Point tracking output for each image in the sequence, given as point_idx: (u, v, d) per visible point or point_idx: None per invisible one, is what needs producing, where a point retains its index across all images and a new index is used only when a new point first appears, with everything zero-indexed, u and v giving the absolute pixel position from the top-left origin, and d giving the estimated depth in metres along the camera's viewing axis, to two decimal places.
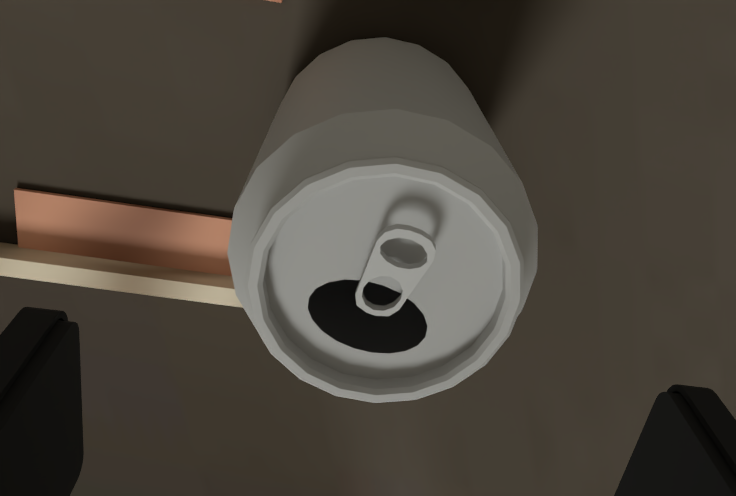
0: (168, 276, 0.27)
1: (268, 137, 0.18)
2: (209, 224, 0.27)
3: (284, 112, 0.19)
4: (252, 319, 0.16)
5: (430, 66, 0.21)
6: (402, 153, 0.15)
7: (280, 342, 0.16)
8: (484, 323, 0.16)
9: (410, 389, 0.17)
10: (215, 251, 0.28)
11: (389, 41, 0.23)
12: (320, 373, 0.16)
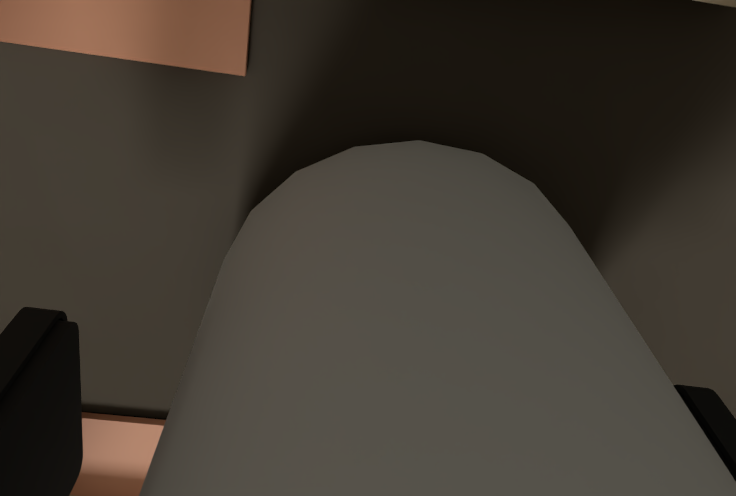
0: None
1: (158, 476, 0.07)
2: (133, 434, 0.16)
3: (205, 382, 0.08)
4: None
5: (528, 234, 0.10)
6: None
7: None
8: None
9: None
10: (146, 470, 0.17)
11: (429, 154, 0.12)
12: None
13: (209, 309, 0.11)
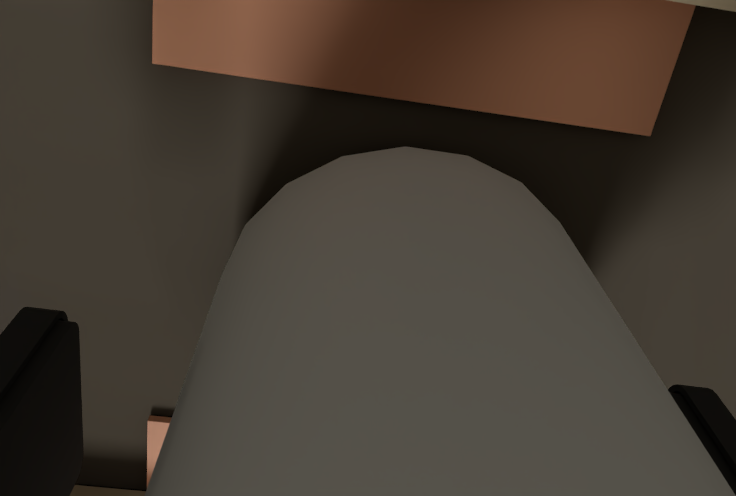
0: None
1: (155, 488, 0.08)
2: None
3: (198, 395, 0.08)
4: None
5: (510, 234, 0.10)
6: None
7: None
8: None
9: None
10: None
11: (414, 160, 0.12)
12: None
13: (207, 323, 0.11)
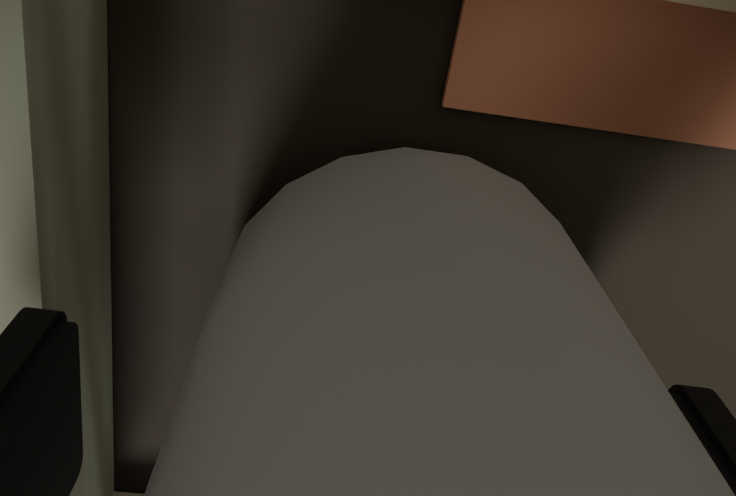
0: None
1: (153, 490, 0.08)
2: None
3: (197, 397, 0.08)
4: None
5: (511, 235, 0.10)
6: None
7: None
8: None
9: None
10: None
11: (414, 160, 0.12)
12: None
13: (206, 324, 0.11)
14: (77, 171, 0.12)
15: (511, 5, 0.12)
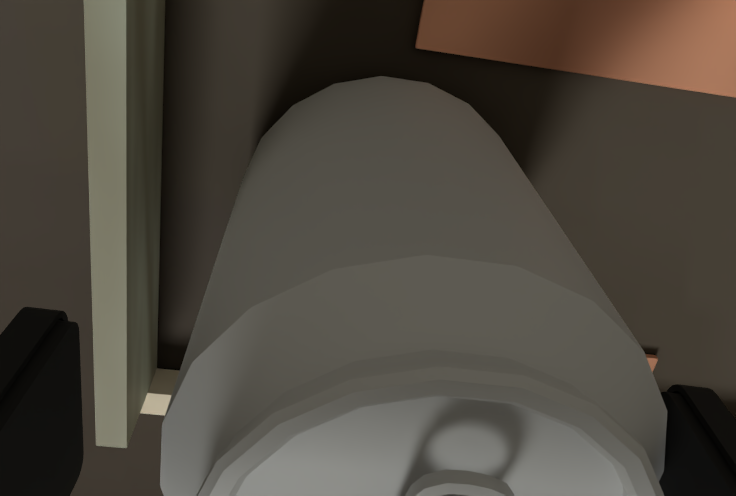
0: None
1: (219, 268, 0.12)
2: None
3: (242, 219, 0.13)
4: None
5: (453, 124, 0.14)
6: (444, 343, 0.08)
7: None
8: None
9: None
10: None
11: (388, 83, 0.16)
12: None
13: (237, 200, 0.16)
14: (146, 91, 0.16)
15: None
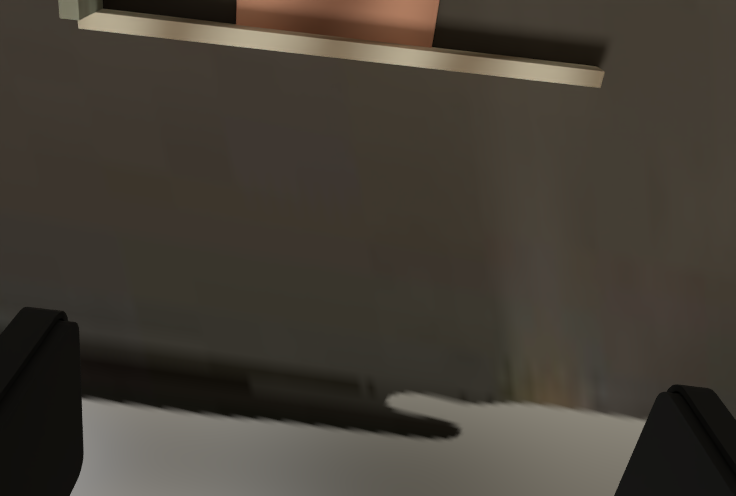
0: (364, 42, 0.33)
1: None
2: None
3: None
4: None
5: None
6: None
7: None
8: None
9: None
10: (401, 21, 0.33)
11: None
12: None
13: None
14: None
15: None
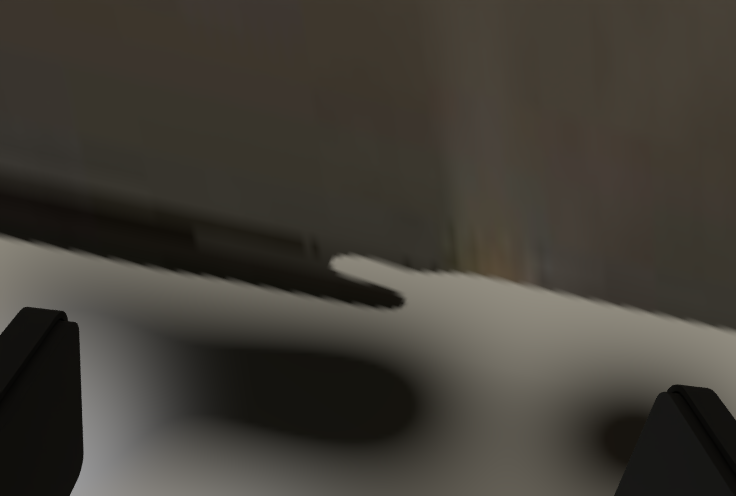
0: None
1: None
2: None
3: None
4: None
5: None
6: None
7: None
8: None
9: None
10: None
11: None
12: None
13: None
14: None
15: None
